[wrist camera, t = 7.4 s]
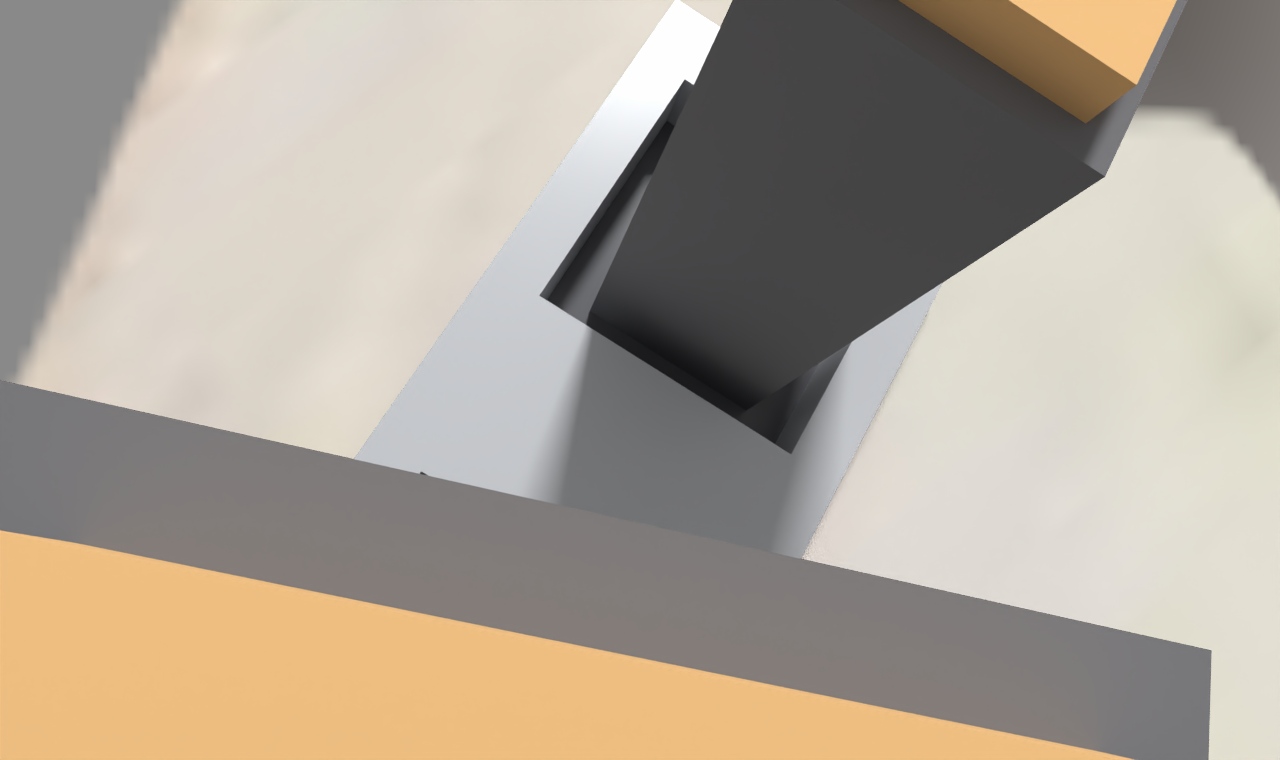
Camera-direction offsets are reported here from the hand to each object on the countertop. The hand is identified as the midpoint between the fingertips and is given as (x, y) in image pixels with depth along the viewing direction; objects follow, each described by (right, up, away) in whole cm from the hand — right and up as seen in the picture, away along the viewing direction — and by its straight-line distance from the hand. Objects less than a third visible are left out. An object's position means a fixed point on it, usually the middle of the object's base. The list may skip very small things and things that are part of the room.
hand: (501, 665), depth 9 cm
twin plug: (+3, +5, +14) cm, 16 cm away
